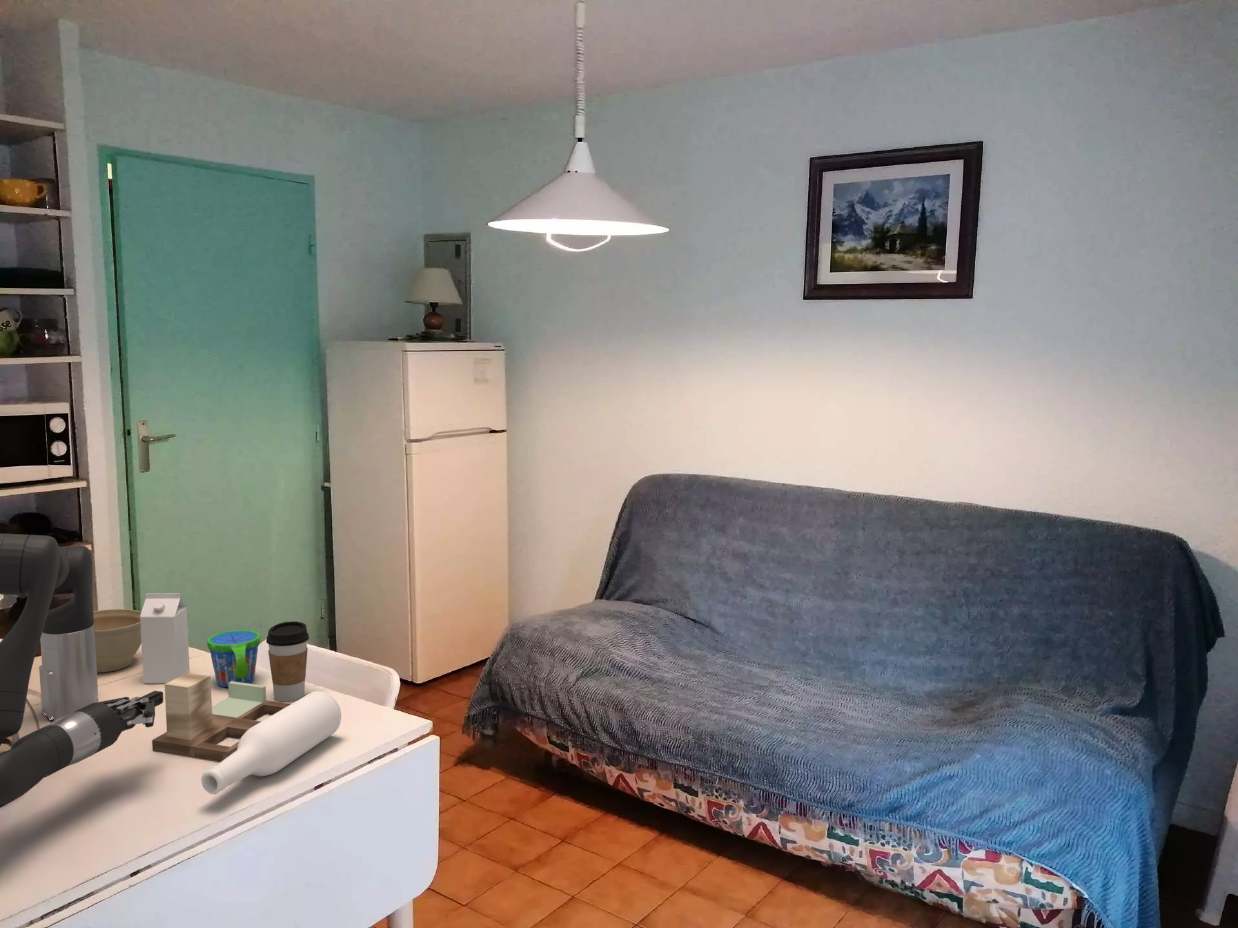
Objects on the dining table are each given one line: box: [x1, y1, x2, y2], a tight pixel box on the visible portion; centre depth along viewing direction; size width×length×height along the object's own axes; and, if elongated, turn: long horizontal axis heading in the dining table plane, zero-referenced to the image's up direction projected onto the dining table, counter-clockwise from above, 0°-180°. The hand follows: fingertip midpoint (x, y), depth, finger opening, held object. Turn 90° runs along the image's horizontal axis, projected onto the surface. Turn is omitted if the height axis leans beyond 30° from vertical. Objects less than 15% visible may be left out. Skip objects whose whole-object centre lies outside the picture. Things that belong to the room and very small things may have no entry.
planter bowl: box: [93, 608, 142, 674], centre depth 210 cm, size 16×16×11 cm
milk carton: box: [140, 592, 190, 684], centre depth 203 cm, size 7×7×19 cm
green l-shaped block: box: [212, 681, 267, 718], centre depth 185 cm, size 9×8×5 cm
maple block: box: [164, 672, 213, 740], centre depth 172 cm, size 6×5×10 cm
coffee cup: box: [265, 620, 310, 703], centre depth 194 cm, size 8×8×15 cm
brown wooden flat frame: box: [151, 699, 292, 763], centre depth 178 cm, size 22×16×2 cm
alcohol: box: [200, 691, 342, 795], centre depth 163 cm, size 9×9×30 cm
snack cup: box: [206, 629, 261, 688], centre depth 202 cm, size 16×10×10 cm
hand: (159, 696), depth 165 cm, fingers closed
